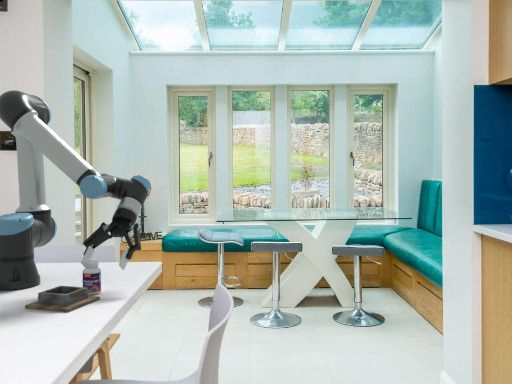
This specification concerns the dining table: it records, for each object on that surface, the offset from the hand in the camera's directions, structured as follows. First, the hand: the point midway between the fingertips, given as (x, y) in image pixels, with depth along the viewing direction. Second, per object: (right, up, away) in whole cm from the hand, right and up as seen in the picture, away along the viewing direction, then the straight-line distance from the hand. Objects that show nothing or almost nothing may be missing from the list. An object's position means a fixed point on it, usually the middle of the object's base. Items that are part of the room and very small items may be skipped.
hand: (102, 266), depth 156 cm
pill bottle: (-2, -8, -2) cm, 9 cm away
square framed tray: (-6, -8, -15) cm, 18 cm away
